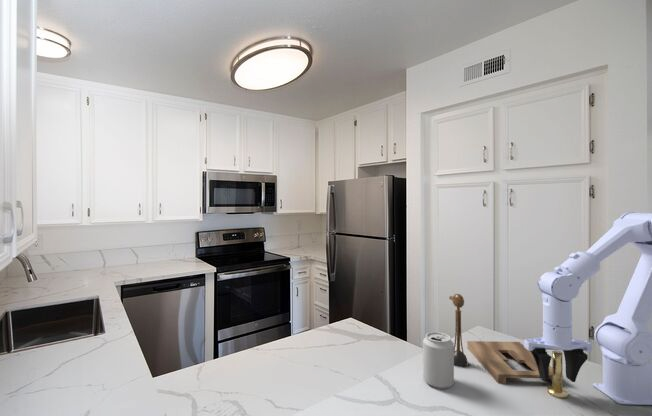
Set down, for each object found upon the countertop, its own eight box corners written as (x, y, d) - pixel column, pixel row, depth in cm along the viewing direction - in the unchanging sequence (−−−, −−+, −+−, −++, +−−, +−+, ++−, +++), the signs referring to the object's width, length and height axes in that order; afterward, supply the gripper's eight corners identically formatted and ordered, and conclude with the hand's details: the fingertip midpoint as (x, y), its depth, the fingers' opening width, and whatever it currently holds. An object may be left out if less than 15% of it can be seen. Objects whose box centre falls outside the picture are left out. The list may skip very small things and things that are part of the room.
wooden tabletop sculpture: (444, 358, 95) (444, 291, 95) (458, 356, 96) (457, 290, 96) (456, 368, 89) (456, 296, 89) (471, 366, 90) (470, 295, 90)
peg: (560, 389, 79) (560, 348, 79) (571, 398, 75) (571, 356, 75) (543, 388, 79) (543, 348, 79) (554, 398, 75) (554, 356, 75)
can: (417, 381, 82) (417, 335, 82) (432, 371, 87) (432, 327, 87) (445, 394, 77) (444, 344, 77) (459, 382, 82) (459, 336, 82)
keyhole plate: (519, 349, 100) (519, 341, 100) (563, 384, 80) (563, 375, 80) (467, 348, 101) (467, 341, 101) (498, 383, 81) (498, 374, 81)
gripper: (576, 317, 80) (576, 371, 80) (517, 317, 81) (517, 370, 81) (598, 328, 73) (598, 387, 73) (533, 327, 74) (533, 385, 74)
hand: (557, 379), depth 77 cm, fingers open, 6 cm apart
